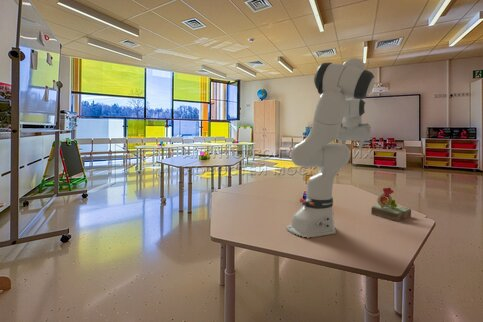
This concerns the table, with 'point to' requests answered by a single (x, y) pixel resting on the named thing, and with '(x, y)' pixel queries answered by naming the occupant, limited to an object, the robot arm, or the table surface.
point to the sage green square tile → (391, 212)
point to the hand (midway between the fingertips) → (352, 148)
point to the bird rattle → (386, 199)
